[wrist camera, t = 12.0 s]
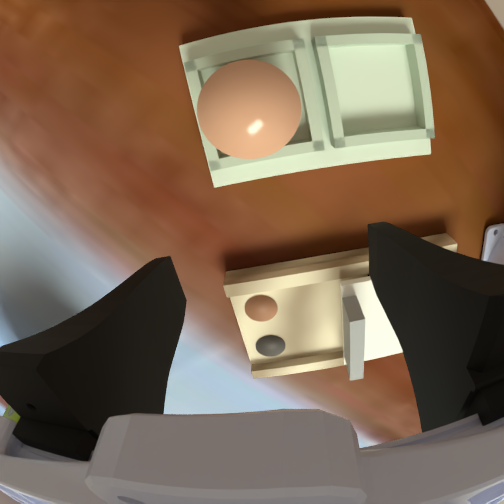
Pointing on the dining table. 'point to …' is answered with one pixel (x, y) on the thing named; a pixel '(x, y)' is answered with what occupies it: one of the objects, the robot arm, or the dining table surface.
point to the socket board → (328, 91)
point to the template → (298, 309)
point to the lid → (364, 326)
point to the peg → (249, 109)
